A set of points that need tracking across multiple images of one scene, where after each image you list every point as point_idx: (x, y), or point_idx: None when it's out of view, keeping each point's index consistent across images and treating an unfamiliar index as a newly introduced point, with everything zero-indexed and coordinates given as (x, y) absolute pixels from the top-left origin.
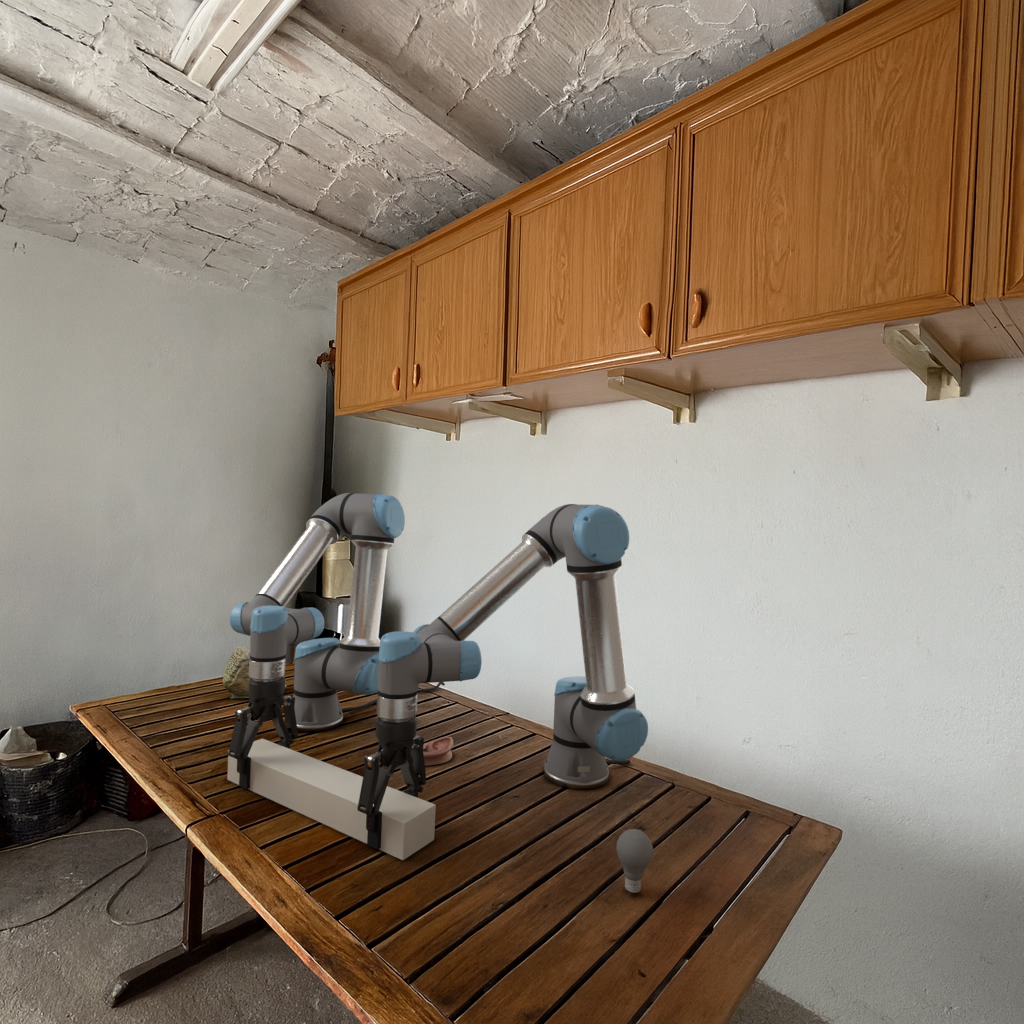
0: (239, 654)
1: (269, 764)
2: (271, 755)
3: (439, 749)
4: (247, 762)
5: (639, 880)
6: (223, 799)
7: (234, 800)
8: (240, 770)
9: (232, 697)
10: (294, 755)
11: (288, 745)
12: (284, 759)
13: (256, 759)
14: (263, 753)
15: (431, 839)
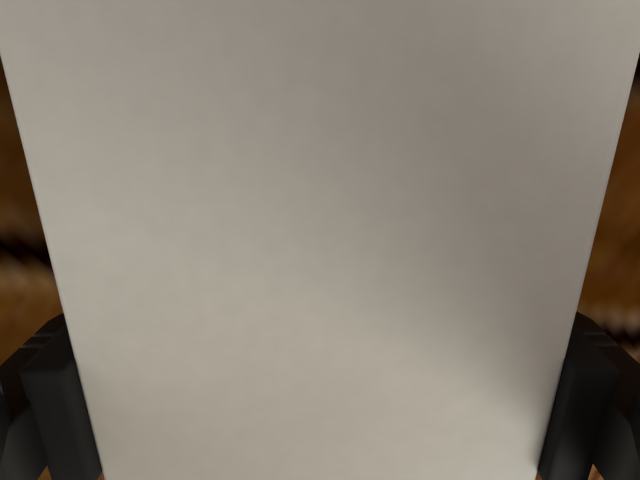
0: None
1: (591, 29)
2: (345, 275)
3: None
4: (593, 346)
5: None
6: (629, 247)
7: (611, 183)
8: (599, 331)
9: None
10: (118, 12)
11: (8, 380)
12: (323, 3)
13: (539, 309)
14: (367, 384)
15: None
